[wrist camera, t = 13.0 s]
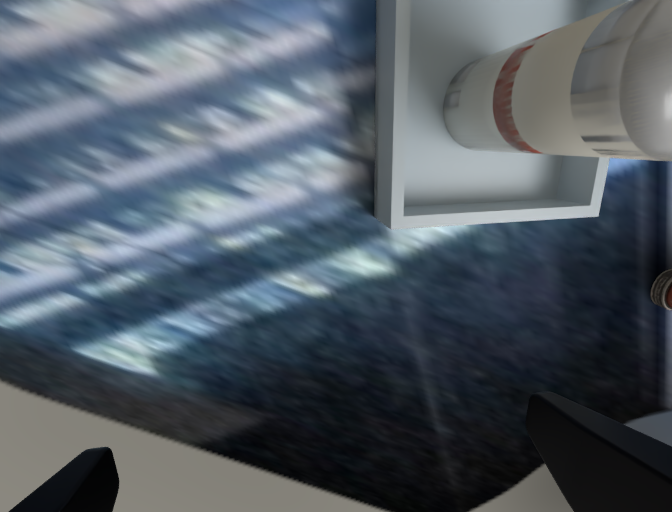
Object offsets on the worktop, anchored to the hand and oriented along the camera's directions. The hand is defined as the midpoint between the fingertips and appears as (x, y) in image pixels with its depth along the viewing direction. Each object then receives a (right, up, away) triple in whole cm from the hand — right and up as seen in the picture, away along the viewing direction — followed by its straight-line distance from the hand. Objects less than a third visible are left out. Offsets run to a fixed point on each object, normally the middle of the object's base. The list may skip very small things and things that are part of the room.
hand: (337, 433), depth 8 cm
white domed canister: (+8, +12, +11) cm, 18 cm away
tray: (+8, +12, +12) cm, 18 cm away
